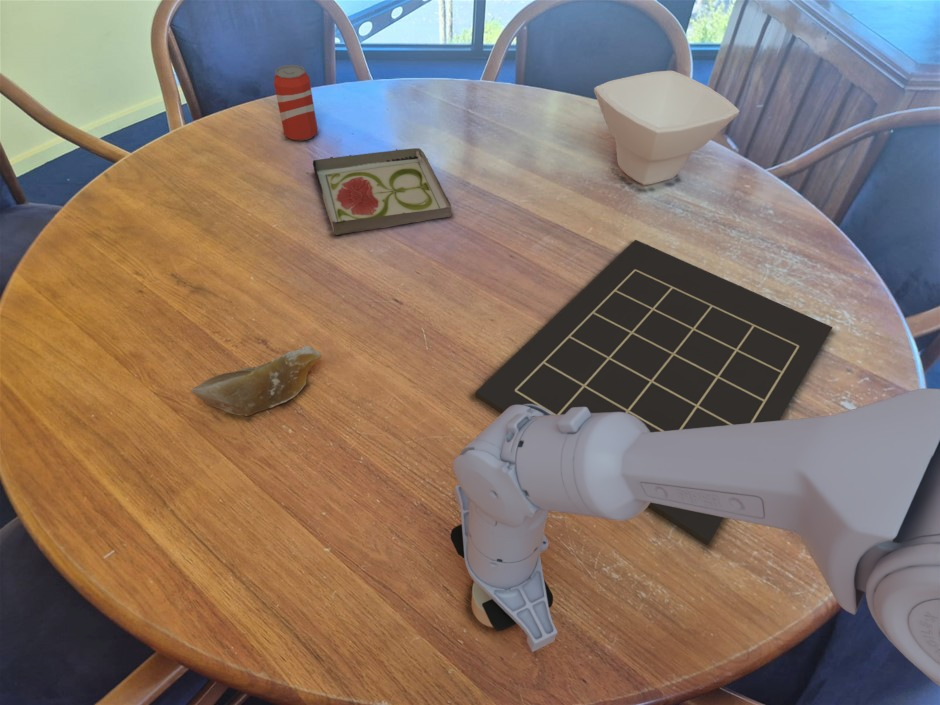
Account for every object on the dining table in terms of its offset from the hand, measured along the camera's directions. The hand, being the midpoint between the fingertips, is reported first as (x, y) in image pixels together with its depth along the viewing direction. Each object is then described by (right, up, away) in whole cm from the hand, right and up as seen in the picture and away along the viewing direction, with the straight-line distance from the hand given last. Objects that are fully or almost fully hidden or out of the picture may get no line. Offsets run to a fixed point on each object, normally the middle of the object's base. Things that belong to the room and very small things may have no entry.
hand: (495, 598), depth 57 cm
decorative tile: (-18, +49, +48) cm, 71 cm away
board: (+22, +21, +23) cm, 38 cm away
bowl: (+29, +54, +54) cm, 82 cm away
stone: (-27, +18, +18) cm, 37 cm away
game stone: (0, -1, +1) cm, 1 cm away
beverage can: (-34, +64, +61) cm, 95 cm away
